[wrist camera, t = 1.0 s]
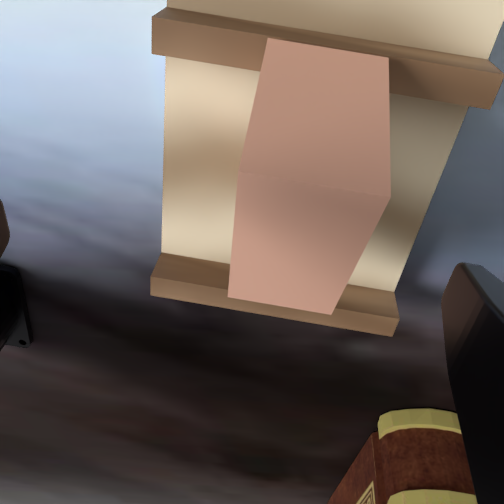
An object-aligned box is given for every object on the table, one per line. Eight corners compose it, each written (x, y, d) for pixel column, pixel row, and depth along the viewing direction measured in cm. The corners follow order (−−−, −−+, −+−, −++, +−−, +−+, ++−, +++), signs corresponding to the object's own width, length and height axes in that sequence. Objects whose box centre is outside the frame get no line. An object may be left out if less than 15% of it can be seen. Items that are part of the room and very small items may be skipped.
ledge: (383, 290, 26) (392, 336, 23) (168, 253, 26) (150, 295, 24) (658, -422, 12) (762, -522, 9) (191, -492, 12) (155, -612, 9)
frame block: (342, 195, 22) (335, 315, 18) (250, 180, 22) (227, 297, 18) (393, 58, 16) (396, 198, 12) (267, 37, 16) (238, 171, 12)
